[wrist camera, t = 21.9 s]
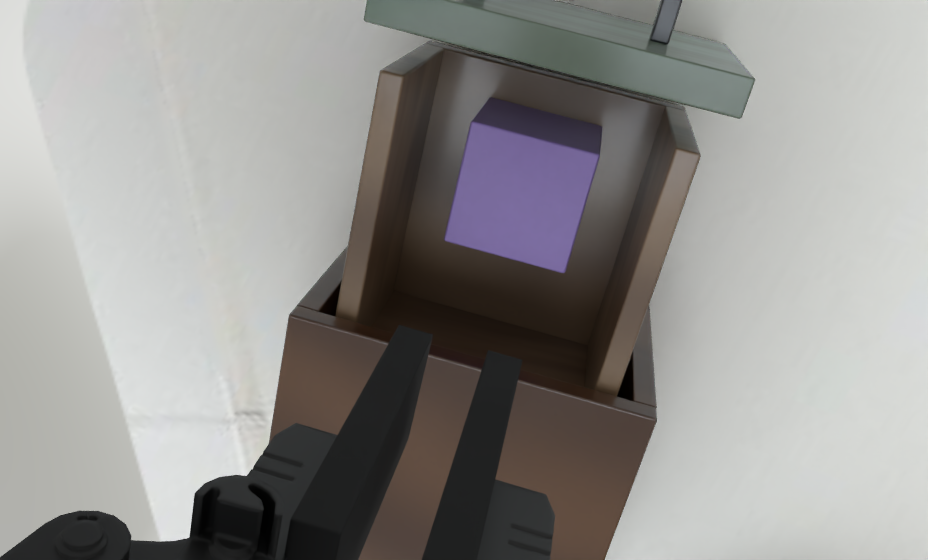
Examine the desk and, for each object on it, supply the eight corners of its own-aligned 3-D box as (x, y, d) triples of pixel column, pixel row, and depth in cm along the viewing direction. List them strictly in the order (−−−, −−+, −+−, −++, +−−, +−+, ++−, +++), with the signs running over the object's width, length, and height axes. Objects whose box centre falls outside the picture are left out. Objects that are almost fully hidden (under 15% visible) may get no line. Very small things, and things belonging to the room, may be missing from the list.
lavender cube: (489, 96, 32) (470, 120, 28) (603, 126, 32) (600, 155, 28) (464, 204, 34) (443, 241, 30) (571, 233, 34) (564, 274, 30)
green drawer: (458, -201, 30) (407, -239, 23) (782, -122, 29) (834, -137, 22) (363, 287, 38) (303, 372, 31) (617, 359, 37) (616, 462, 30)
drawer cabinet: (366, 223, 37) (288, 314, 29) (649, 301, 37) (657, 419, 28) (316, 488, 43) (238, 630, 35) (558, 560, 43) (542, 725, 34)
